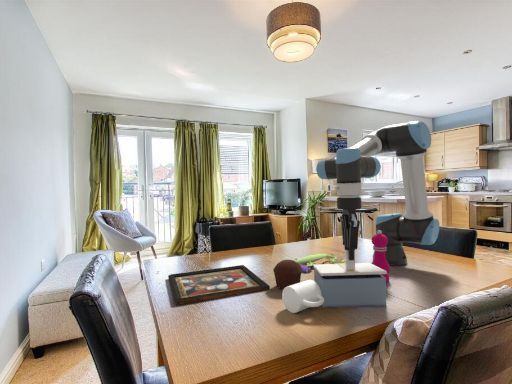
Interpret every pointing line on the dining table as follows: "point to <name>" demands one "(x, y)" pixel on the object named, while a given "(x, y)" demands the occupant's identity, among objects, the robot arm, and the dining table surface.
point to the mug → (302, 296)
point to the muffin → (287, 273)
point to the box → (352, 290)
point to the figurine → (314, 258)
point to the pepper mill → (380, 253)
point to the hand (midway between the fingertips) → (350, 269)
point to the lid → (341, 270)
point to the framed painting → (214, 284)
